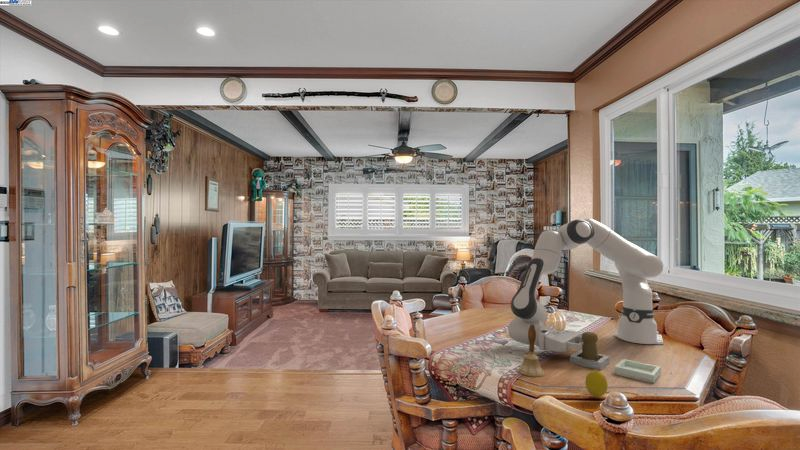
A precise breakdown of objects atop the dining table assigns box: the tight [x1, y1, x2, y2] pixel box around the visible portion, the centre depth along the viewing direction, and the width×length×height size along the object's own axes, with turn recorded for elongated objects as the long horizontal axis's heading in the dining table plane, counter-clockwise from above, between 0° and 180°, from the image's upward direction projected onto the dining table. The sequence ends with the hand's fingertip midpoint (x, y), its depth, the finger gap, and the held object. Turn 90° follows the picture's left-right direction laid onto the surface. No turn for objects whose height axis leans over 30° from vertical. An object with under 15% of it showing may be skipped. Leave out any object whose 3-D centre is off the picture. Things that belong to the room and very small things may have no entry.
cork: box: [581, 331, 599, 361], centre depth 138 cm, size 6×6×11 cm
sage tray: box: [614, 358, 662, 384], centre depth 127 cm, size 11×11×2 cm
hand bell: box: [517, 324, 545, 378], centre depth 128 cm, size 8×8×16 cm
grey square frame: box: [569, 350, 611, 371], centre depth 138 cm, size 10×10×2 cm
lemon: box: [585, 369, 608, 399], centre depth 108 cm, size 6×6×8 cm
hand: (586, 344), depth 138 cm, fingers open, 8 cm apart
